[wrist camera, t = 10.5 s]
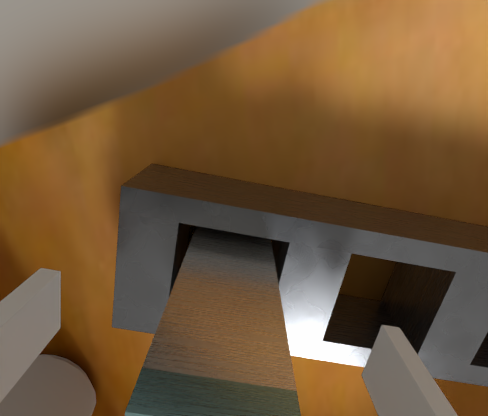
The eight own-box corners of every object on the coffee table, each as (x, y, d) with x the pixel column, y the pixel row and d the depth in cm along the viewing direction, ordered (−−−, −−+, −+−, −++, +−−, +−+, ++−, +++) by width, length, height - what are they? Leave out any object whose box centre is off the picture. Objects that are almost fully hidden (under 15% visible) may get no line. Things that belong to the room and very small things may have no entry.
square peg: (254, 270, 22) (266, 542, 8) (195, 260, 21) (114, 522, 8) (266, 215, 20) (304, 437, 7) (204, 204, 20) (125, 411, 7)
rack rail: (523, 341, 23) (592, 403, 19) (141, 277, 22) (112, 327, 17) (581, 244, 21) (679, 287, 16) (151, 163, 19) (121, 185, 15)
